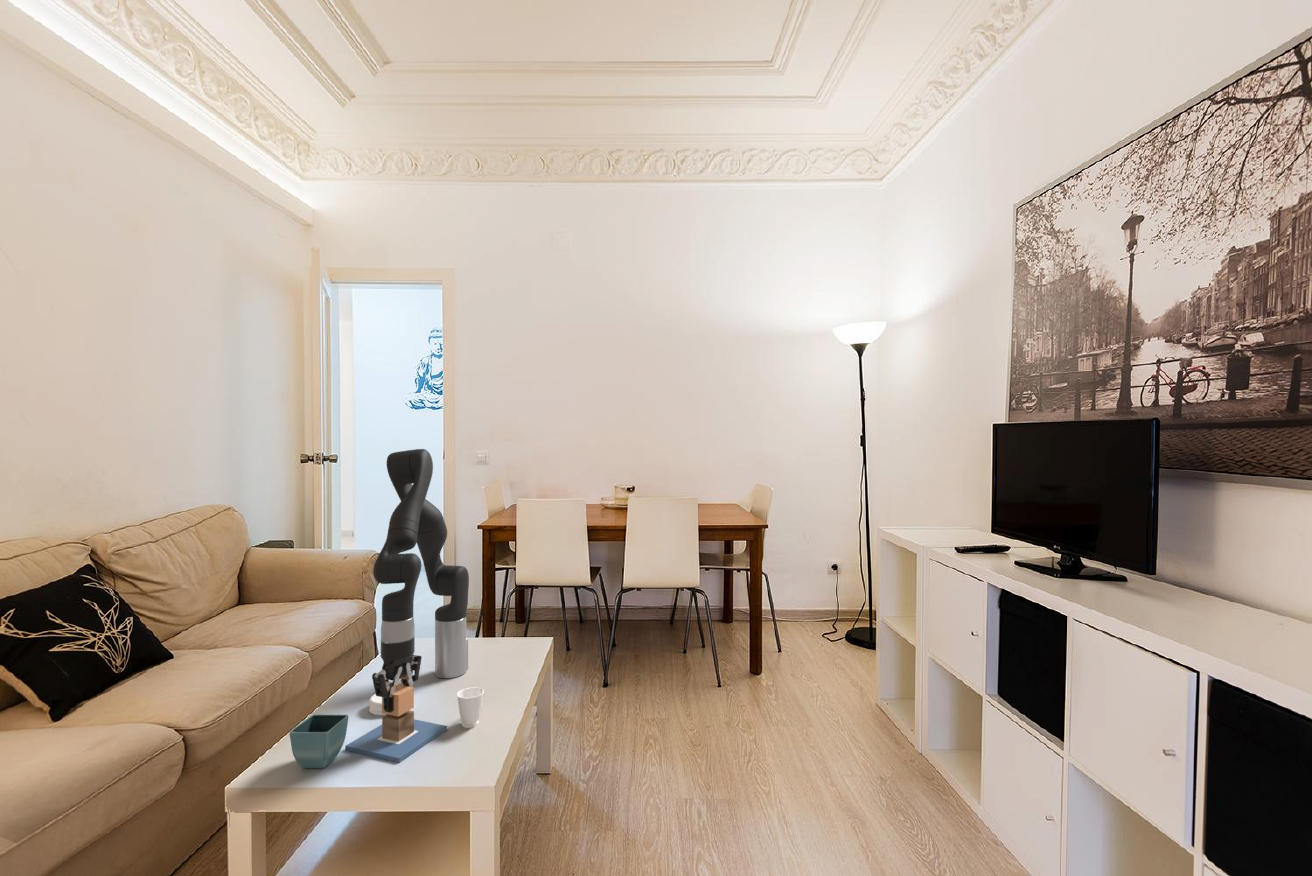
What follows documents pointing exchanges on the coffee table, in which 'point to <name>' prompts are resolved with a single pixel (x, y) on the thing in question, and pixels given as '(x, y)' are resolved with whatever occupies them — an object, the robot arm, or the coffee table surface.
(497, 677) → the coffee table surface
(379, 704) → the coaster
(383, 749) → the board
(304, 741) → the flower pot
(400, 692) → the terracotta block
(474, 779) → the coffee table surface
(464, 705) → the cup
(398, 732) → the walnut block
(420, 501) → the robot arm
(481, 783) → the coffee table surface
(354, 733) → the coffee table surface
